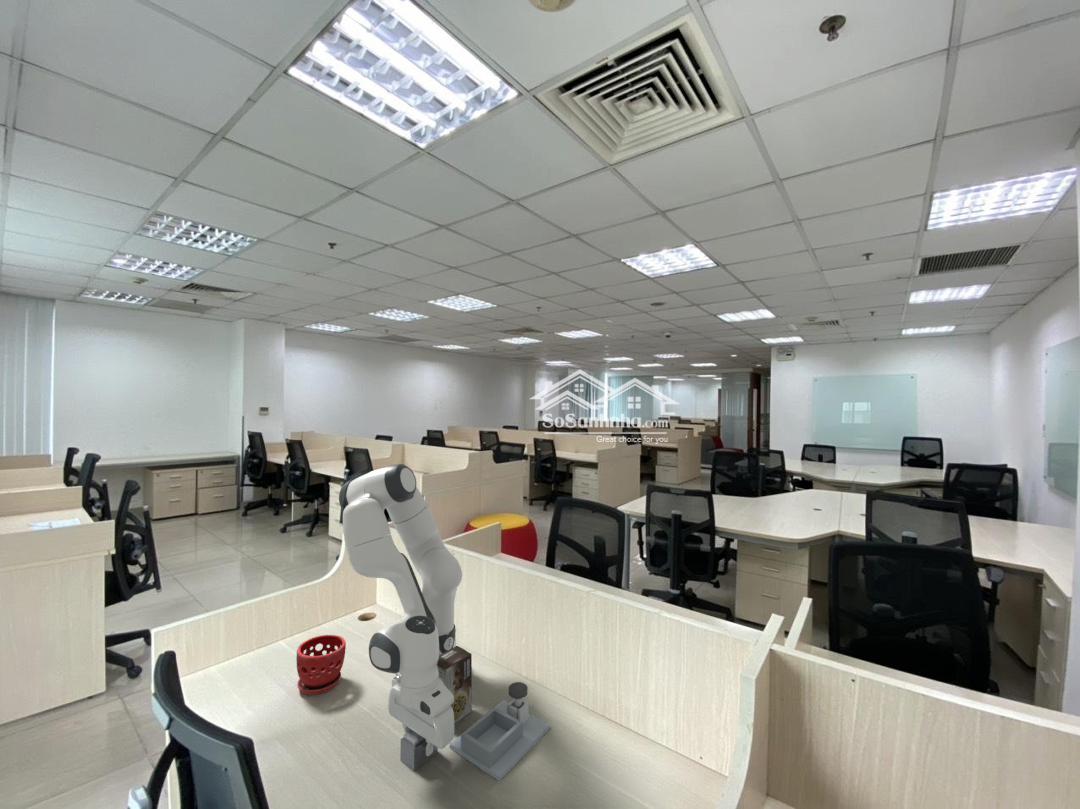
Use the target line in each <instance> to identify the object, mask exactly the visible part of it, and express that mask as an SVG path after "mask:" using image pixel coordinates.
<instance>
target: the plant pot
mask: <svg viewBox="0 0 1080 809" xmlns="http://www.w3.org/2000/svg"><path fill="white" fill-rule="evenodd" d="M319 644H321V645H322V648H321V649H319V650H317V649H316V647H317V646H318V645H319ZM328 646H329V647H328ZM336 647H337V649H336ZM311 648H312V649H311ZM346 649H347V648H346V640H345V638H344V637H342V636H340V635H336V634H321V635H318V636H314V637H311V638H309V639H306V640H304V641H303V642H302V643H300V644H299V646H298V647H297V650H296V659H295V660H296V671H297V675H298V681H297V684H296V685H297V688H298V690H299V691H300V692H301V693H303V694H306V695H317V694H321V693H322V694H323V693H325V692H327V691H329V690H332V688H334V687H335V686H336V685H338V683H339V682H340V681H341V678H342V672H341V670H342V668H343V665H344V661H345V656H346ZM325 651H326V654H324V653H323V652H325ZM311 654H313V655H311Z"/></svg>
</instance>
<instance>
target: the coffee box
mask: <svg viewBox="0 0 1080 809" xmlns="http://www.w3.org/2000/svg"><path fill="white" fill-rule="evenodd" d="M472 656H473V655H472V653H471V652H469V651H467V649H464V648H463V647H461V646H458V645H456V646H455V647H454V648H452V649H450V650H448V651H447V652H445V653H443V654H441V655H439V659H438V663H437V667H438V670H439V678H440V679H441V680H442V682H443V683H444V685H445V686H446V687H447V688H448V690H449V691H450V692H451V693H452V694H453V696H454V702H453V704H451V707H452V709H453V712H454V725H455V724H456V723H458V722H459V721H461V720H462V719H463V718H465V717H466V716H468V715H469V714H470V713H472V711H473V710H472V709H473V706H472V705H473V703H472V702H473V701H472V699H473V695H472V693H473V692H472V690H473V687H472V685H473V684H472V683H473V681H472V678H473V677H472V676H473V674H472V672H473V671H472V669H473V667H472V658H473V657H472Z"/></svg>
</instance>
